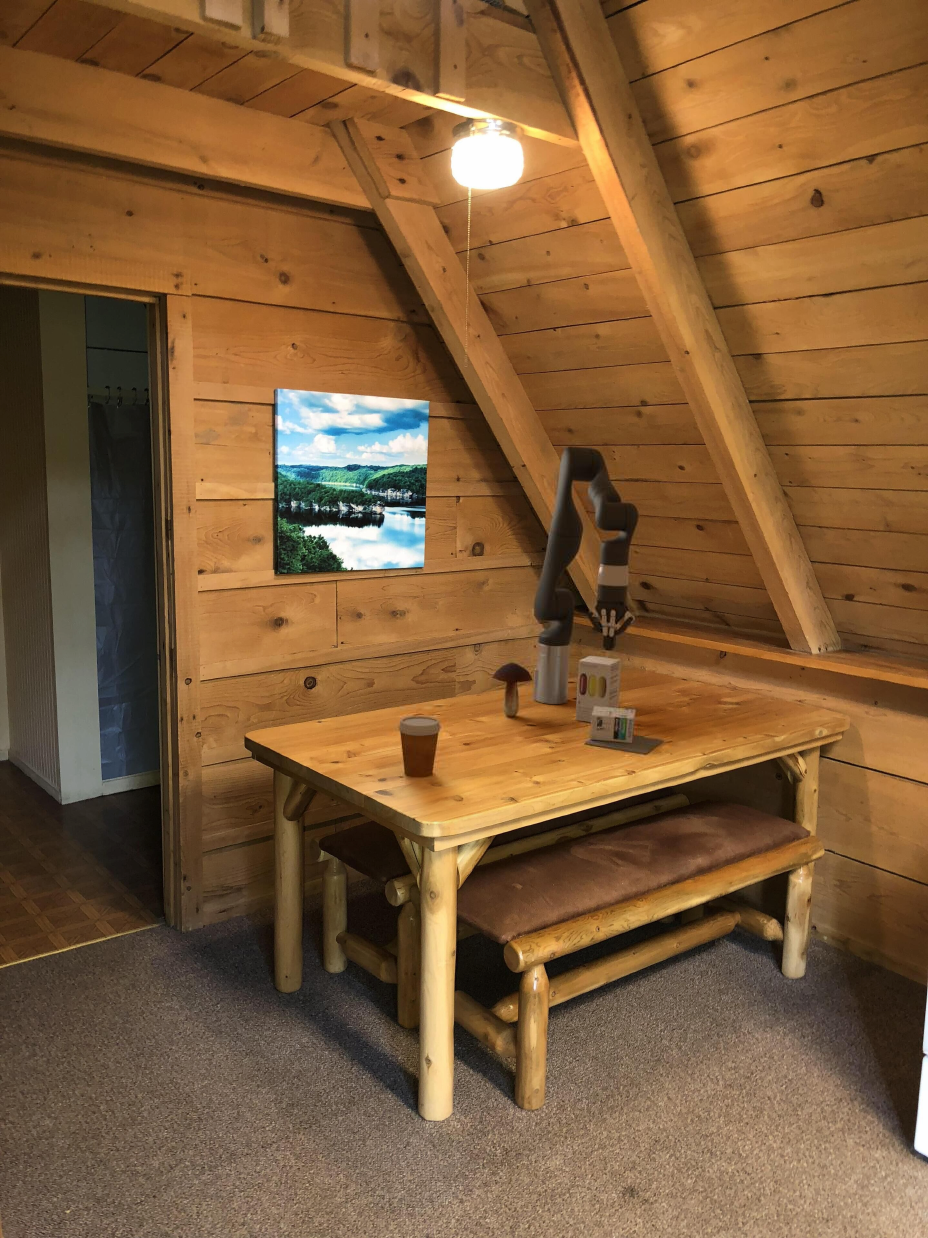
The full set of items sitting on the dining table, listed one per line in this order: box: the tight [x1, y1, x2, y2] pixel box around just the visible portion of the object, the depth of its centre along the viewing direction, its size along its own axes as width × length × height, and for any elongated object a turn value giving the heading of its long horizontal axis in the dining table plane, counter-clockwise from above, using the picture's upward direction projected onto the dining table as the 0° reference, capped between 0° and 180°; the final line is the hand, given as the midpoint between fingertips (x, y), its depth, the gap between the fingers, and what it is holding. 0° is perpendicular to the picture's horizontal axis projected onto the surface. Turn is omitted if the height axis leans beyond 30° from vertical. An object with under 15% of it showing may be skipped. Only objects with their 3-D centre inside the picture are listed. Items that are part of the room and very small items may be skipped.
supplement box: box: [575, 655, 622, 723], centre depth 273 cm, size 10×9×17 cm
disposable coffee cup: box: [397, 715, 442, 778], centre depth 222 cm, size 10×10×12 cm
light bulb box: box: [589, 706, 636, 743], centre depth 255 cm, size 11×7×11 cm
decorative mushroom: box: [491, 662, 533, 717], centre depth 274 cm, size 11×11×15 cm
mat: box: [584, 734, 665, 755], centre depth 252 cm, size 16×14×1 cm
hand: (608, 650), depth 252 cm, fingers closed
